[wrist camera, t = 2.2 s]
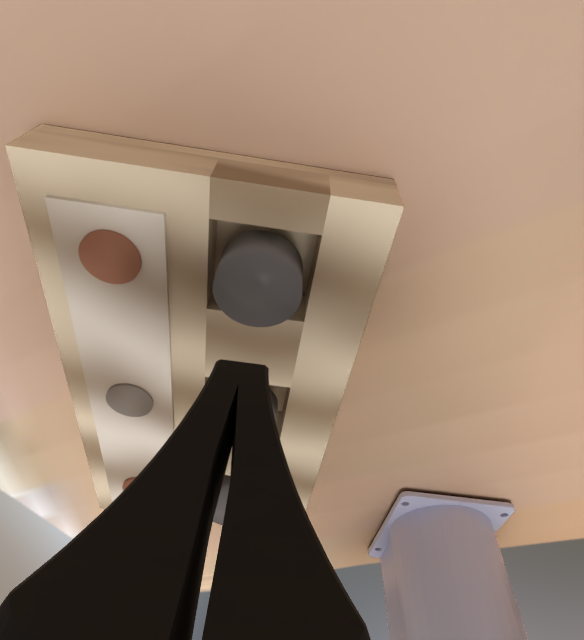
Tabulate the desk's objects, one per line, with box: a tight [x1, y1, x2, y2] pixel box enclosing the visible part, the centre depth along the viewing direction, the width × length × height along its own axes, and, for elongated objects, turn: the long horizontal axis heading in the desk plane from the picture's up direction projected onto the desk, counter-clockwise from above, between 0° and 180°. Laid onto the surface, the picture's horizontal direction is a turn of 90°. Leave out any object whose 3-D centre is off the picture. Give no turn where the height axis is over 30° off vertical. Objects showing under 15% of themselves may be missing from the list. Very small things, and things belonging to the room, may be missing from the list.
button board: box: [5, 124, 404, 511], centre depth 22 cm, size 23×13×3 cm, turn 172°
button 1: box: [213, 230, 303, 327], centre depth 16 cm, size 3×3×2 cm
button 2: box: [213, 475, 230, 525], centre depth 26 cm, size 3×3×2 cm
